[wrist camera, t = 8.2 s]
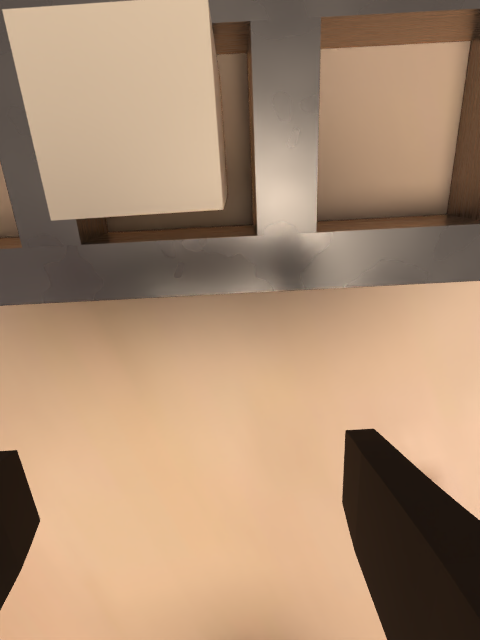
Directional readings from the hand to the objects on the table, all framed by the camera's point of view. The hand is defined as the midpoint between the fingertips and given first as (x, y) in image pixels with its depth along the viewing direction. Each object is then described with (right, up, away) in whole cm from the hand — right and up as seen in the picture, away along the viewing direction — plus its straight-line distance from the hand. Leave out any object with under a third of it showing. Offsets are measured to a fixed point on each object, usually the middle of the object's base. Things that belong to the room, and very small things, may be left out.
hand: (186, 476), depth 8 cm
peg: (-1, +10, +6) cm, 12 cm away
